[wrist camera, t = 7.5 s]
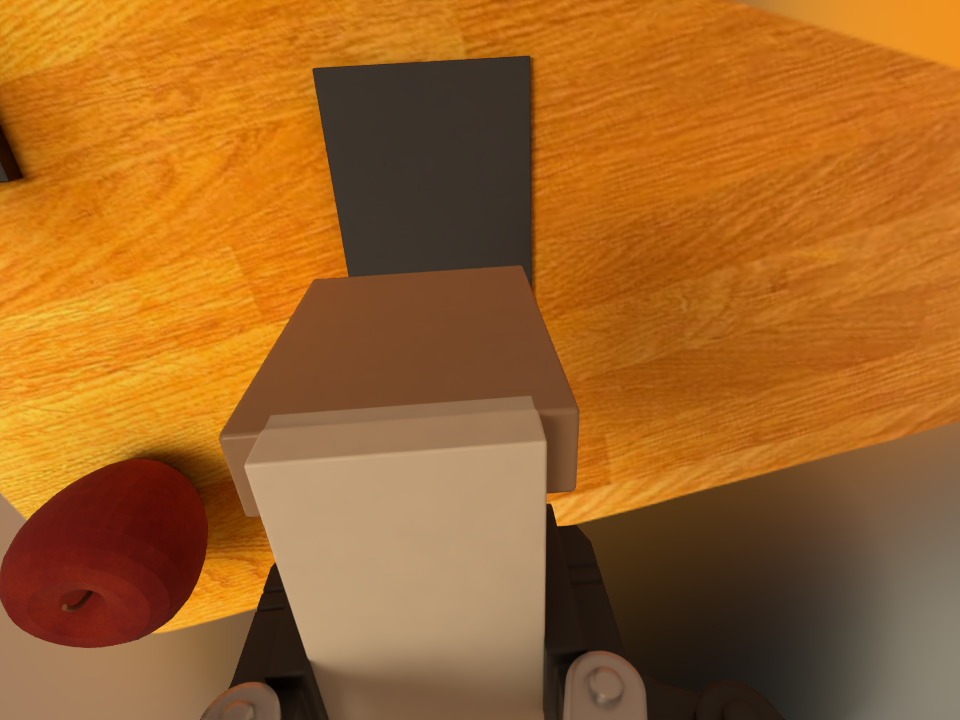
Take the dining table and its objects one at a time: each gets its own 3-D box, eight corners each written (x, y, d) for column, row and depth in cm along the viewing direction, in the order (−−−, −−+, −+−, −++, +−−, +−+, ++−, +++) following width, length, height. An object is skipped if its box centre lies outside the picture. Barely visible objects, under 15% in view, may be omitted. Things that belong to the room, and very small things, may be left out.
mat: (314, 68, 25) (311, 68, 25) (528, 56, 25) (530, 56, 25) (375, 422, 35) (374, 427, 34) (531, 410, 35) (532, 415, 34)
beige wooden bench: (312, 278, 13) (195, 468, 7) (522, 264, 13) (592, 438, 7) (374, 573, 18) (338, 838, 12) (526, 560, 19) (569, 816, 12)
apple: (256, 525, 38) (200, 662, 29) (127, 550, 39) (34, 692, 30) (196, 417, 34) (110, 540, 25) (51, 446, 34) (-85, 578, 25)
